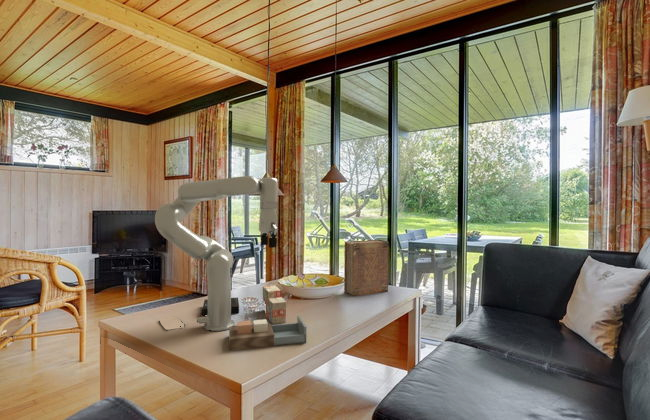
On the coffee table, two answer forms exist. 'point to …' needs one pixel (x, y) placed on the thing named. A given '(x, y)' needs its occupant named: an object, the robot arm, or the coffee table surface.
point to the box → (289, 333)
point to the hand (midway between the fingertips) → (268, 246)
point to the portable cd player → (233, 307)
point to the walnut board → (250, 338)
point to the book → (366, 267)
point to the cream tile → (260, 325)
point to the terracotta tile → (244, 327)
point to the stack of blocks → (274, 304)
